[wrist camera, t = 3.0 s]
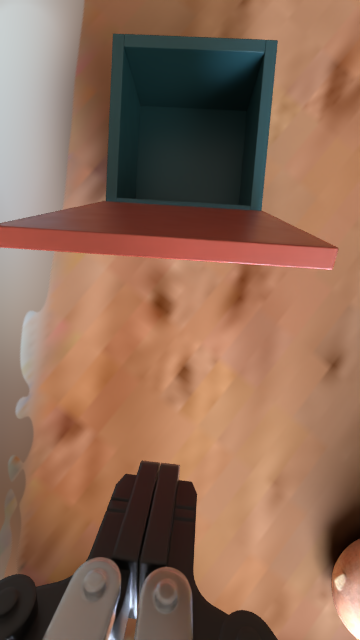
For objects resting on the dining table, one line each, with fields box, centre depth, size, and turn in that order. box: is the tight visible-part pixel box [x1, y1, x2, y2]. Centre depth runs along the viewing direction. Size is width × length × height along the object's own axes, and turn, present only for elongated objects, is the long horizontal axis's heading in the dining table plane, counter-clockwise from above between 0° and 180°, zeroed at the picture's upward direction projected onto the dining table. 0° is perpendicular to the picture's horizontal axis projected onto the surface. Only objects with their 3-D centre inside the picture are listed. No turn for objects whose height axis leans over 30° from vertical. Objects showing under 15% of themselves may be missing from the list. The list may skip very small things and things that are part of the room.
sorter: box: [106, 34, 278, 211], centre depth 30 cm, size 14×14×9 cm
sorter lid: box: [0, 201, 338, 270], centre depth 19 cm, size 15×14×1 cm
